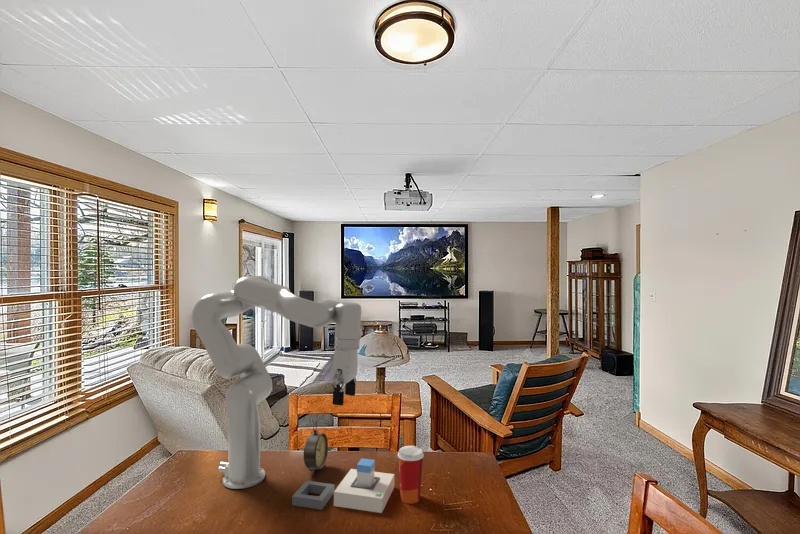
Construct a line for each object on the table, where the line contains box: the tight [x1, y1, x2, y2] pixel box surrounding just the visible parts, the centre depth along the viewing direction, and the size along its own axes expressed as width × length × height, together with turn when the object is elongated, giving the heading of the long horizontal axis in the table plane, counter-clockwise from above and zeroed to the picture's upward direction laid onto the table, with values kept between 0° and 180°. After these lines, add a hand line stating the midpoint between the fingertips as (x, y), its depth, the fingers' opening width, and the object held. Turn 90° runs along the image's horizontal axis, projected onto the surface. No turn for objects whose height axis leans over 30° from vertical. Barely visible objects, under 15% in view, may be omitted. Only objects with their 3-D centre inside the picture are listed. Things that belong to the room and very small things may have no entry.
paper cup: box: [397, 445, 425, 505], centre depth 123 cm, size 8×8×14 cm
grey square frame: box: [291, 480, 335, 511], centre depth 122 cm, size 9×9×2 cm
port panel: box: [333, 468, 395, 514], centre depth 124 cm, size 14×14×4 cm
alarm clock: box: [302, 420, 329, 478], centre depth 139 cm, size 11×5×16 cm, turn 168°
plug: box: [356, 457, 376, 488], centre depth 124 cm, size 4×4×10 cm
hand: (344, 399), depth 128 cm, fingers open, 9 cm apart
